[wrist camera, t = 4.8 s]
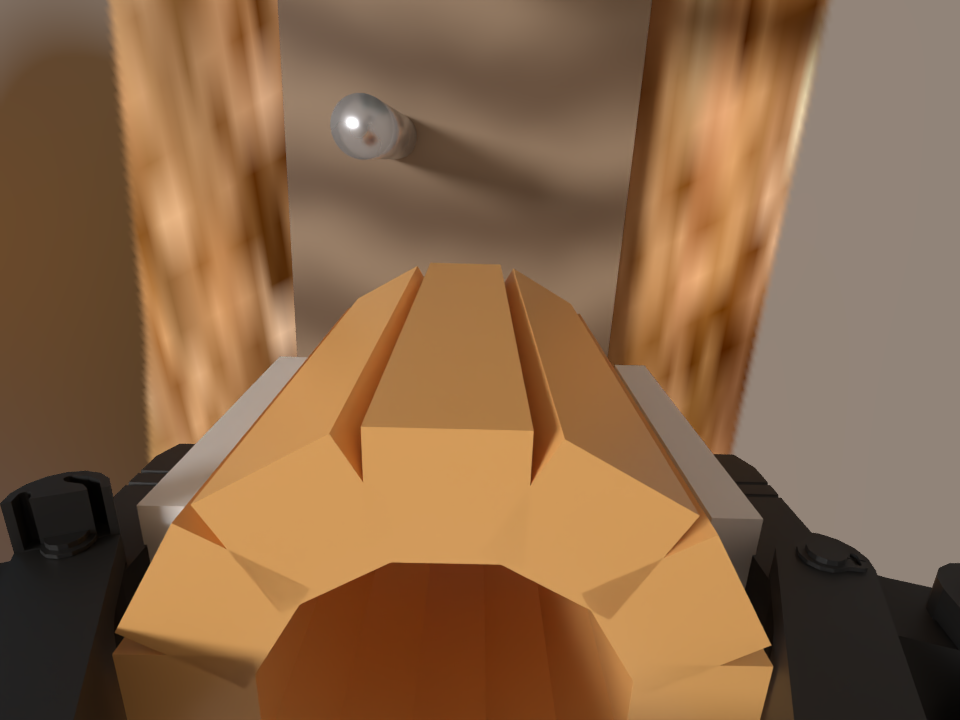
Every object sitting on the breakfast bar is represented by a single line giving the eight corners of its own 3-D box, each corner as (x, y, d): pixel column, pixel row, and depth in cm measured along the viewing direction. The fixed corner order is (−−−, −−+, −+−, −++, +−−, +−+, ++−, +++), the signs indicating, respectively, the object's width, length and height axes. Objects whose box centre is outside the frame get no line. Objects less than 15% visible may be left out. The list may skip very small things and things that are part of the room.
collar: (308, 259, 14) (57, 419, 6) (621, 267, 14) (830, 437, 6) (326, 526, 17) (171, 910, 8) (593, 531, 17) (709, 917, 8)
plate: (278, -179, 24) (266, -200, 23) (662, -154, 25) (673, -173, 23) (311, 465, 34) (304, 478, 33) (586, 475, 34) (591, 489, 33)
